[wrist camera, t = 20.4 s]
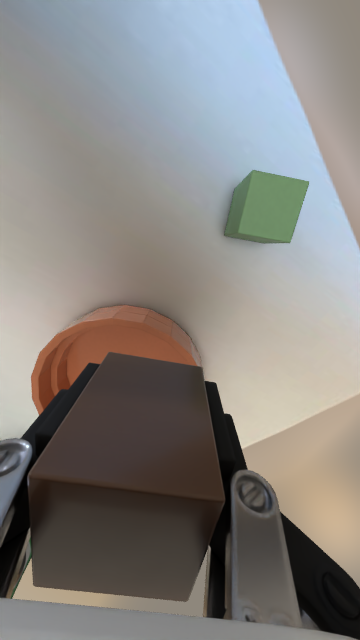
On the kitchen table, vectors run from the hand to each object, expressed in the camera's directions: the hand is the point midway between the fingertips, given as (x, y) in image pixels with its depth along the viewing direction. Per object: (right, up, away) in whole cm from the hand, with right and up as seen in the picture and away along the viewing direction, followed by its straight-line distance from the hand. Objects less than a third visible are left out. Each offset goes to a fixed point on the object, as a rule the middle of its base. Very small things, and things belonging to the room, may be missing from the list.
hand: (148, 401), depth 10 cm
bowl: (-5, -3, +17) cm, 18 cm away
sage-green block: (+8, +14, +11) cm, 20 cm away
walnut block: (0, 0, 0) cm, 0 cm away
